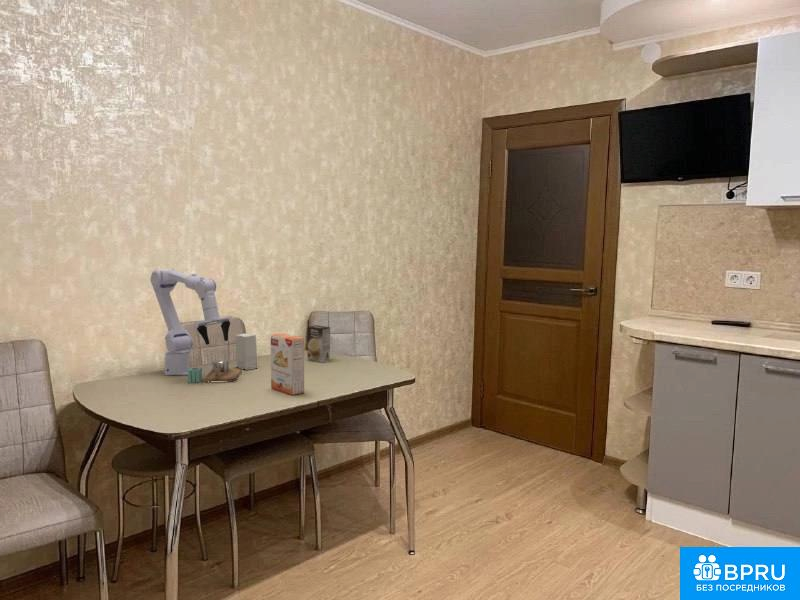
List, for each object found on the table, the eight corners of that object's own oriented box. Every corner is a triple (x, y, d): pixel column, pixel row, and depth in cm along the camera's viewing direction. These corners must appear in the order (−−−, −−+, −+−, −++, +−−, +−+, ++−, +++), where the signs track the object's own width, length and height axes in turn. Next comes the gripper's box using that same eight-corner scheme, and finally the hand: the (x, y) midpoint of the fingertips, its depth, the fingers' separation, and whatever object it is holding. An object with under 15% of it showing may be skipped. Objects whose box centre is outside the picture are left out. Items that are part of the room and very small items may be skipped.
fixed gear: (211, 372, 257) (211, 361, 256) (214, 369, 263) (214, 358, 262) (227, 372, 257) (227, 360, 257) (229, 369, 264) (229, 357, 263)
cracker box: (270, 388, 238) (269, 334, 236) (283, 386, 242) (283, 332, 240) (291, 395, 228) (291, 339, 226) (304, 393, 232) (304, 337, 230)
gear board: (204, 382, 246) (204, 371, 246) (212, 372, 264) (212, 361, 263) (235, 382, 248) (235, 370, 247) (241, 372, 265) (241, 361, 265)
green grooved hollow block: (187, 383, 245) (187, 370, 244) (190, 379, 250) (190, 367, 250) (199, 382, 245) (199, 370, 245) (202, 379, 251) (201, 367, 250)
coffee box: (306, 360, 291) (306, 326, 290) (315, 358, 297) (315, 324, 295) (321, 363, 287) (322, 328, 285) (330, 360, 292) (330, 326, 290)
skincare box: (257, 368, 272) (257, 335, 271) (245, 370, 268) (245, 336, 267) (247, 365, 278) (247, 332, 277) (235, 367, 274) (235, 333, 273)
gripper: (195, 310, 241) (202, 344, 240) (231, 304, 249) (238, 338, 249) (189, 313, 246) (196, 346, 246) (225, 307, 255) (231, 340, 254)
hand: (217, 342), depth 248 cm, fingers open, 7 cm apart
